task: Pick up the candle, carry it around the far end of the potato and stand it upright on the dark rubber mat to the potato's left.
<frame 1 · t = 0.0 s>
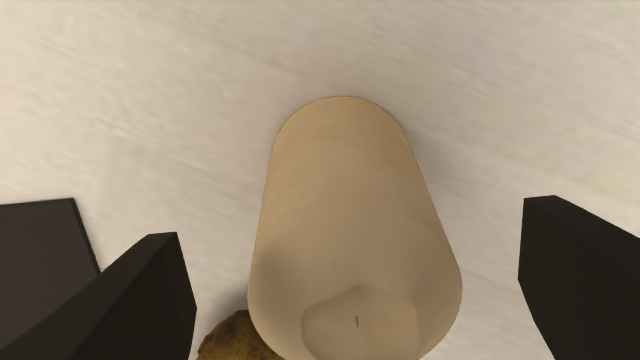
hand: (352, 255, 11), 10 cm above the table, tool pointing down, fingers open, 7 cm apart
candle: (339, 158, 22), on the table
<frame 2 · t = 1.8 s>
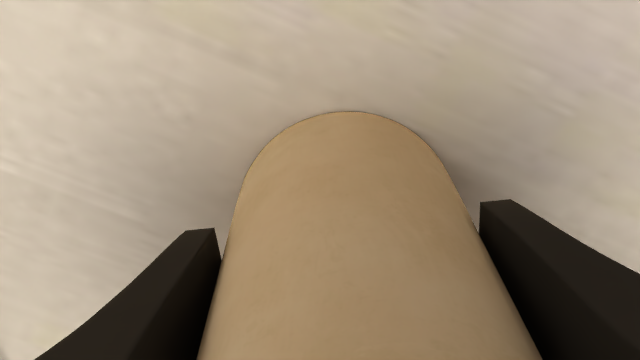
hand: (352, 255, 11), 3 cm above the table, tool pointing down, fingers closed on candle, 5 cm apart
candle: (344, 204, 14), on the table, touching gripper
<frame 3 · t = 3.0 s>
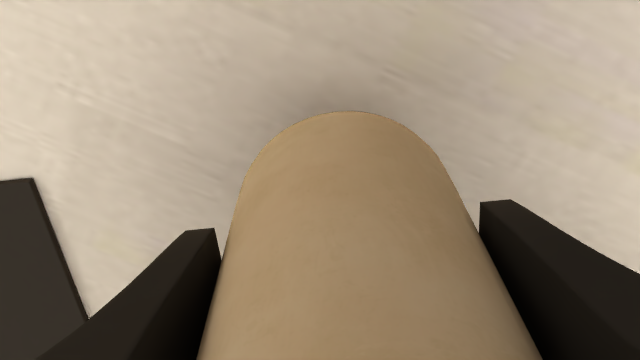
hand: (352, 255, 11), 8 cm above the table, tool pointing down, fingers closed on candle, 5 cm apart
candle: (344, 203, 14), point 5 cm above the table, touching gripper
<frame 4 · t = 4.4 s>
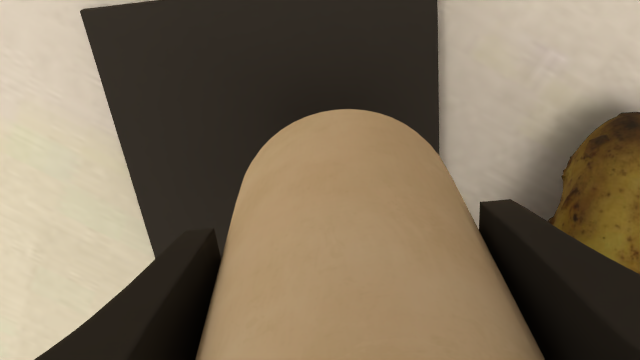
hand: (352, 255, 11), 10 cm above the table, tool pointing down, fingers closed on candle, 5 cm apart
potato: (577, 244, 23), on the table
mat: (294, 226, 22), on the table
candle: (344, 202, 14), point 7 cm above the table, touching gripper
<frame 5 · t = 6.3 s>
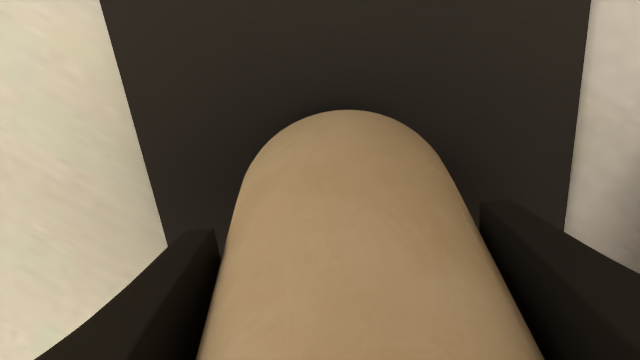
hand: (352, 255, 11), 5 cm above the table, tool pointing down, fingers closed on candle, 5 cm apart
mat: (358, 158, 15), on the table
candle: (344, 202, 14), point 2 cm above the table, touching gripper
when the fingers open (3 cm above the table, at t = 7.4 s): candle stays where it is, resting on mat.
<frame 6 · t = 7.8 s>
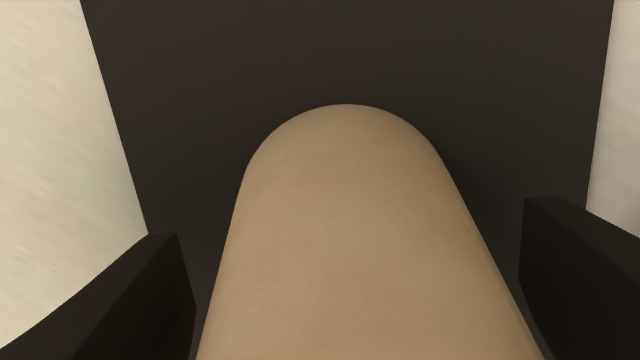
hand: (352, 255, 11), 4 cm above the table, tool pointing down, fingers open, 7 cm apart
mat: (361, 175, 14), on the table
candle: (343, 195, 15), resting on mat
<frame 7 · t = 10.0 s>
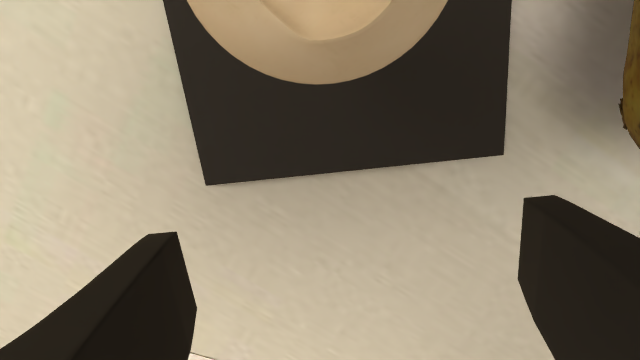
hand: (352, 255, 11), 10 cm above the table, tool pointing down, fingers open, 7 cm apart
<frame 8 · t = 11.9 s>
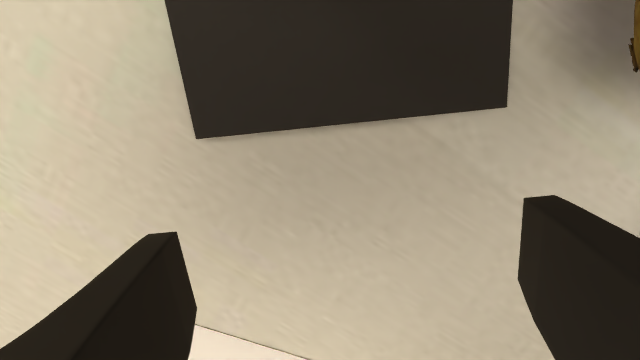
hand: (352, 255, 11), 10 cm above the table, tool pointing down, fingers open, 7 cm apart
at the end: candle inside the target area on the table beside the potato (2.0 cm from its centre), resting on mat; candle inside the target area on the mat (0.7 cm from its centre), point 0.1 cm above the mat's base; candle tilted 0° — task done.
